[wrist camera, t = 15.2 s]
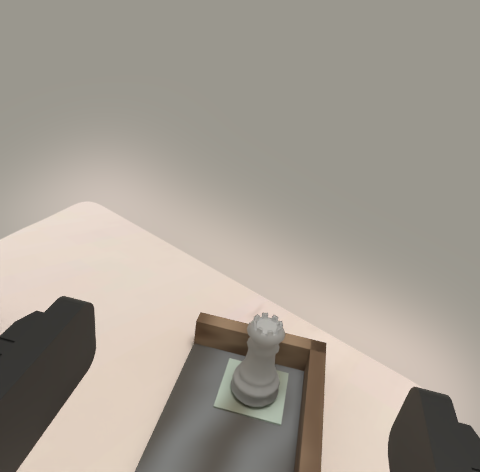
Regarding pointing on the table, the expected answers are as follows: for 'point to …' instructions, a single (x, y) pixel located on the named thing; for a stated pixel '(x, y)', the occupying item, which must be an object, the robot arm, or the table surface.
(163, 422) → the corner arena
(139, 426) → the table surface
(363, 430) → the table surface
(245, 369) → the rook chess piece
